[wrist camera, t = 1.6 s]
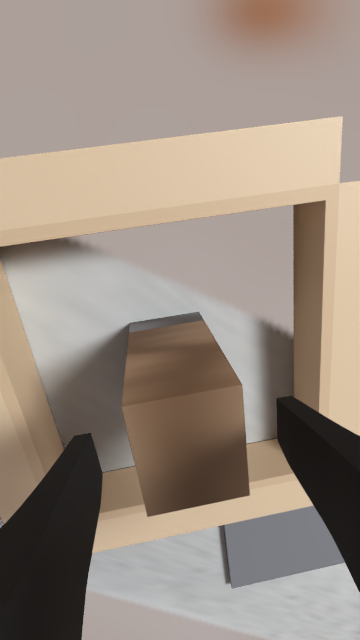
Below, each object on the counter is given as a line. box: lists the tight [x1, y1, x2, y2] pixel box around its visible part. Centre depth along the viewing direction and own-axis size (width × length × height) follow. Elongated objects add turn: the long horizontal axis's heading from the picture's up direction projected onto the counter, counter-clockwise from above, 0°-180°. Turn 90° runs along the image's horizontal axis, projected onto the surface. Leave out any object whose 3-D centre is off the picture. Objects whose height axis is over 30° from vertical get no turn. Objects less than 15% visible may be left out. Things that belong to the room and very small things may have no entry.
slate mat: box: [224, 506, 345, 588], centre depth 24 cm, size 10×10×1 cm
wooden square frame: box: [0, 116, 360, 553], centre depth 17 cm, size 22×22×3 cm
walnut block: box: [121, 312, 250, 517], centre depth 14 cm, size 4×5×8 cm
